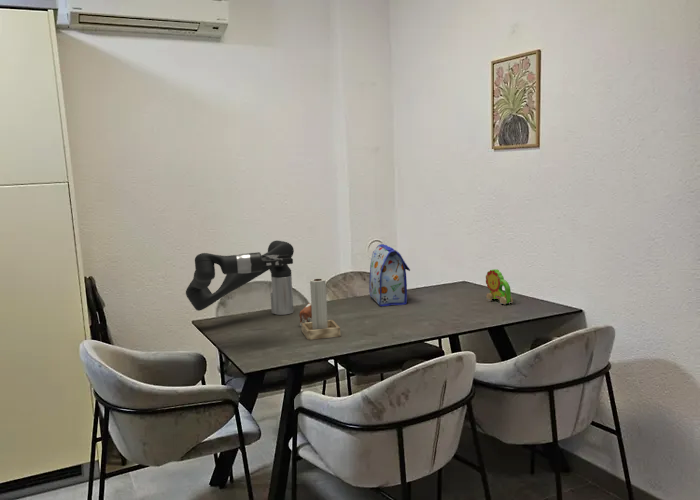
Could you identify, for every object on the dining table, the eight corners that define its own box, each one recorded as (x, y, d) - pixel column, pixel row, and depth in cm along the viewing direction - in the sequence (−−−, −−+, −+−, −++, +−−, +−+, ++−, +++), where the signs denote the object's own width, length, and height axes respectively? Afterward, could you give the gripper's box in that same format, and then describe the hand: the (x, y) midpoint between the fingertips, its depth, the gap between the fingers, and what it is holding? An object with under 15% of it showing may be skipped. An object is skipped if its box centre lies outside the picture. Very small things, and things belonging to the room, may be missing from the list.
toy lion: (513, 304, 283) (513, 271, 281) (504, 306, 281) (504, 273, 279) (492, 298, 298) (491, 267, 296) (482, 299, 296) (482, 268, 293)
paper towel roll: (321, 329, 252) (318, 277, 249) (331, 331, 247) (328, 279, 244) (307, 333, 247) (304, 280, 244) (317, 335, 242) (314, 282, 239)
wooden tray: (307, 340, 240) (307, 331, 240) (301, 331, 252) (301, 323, 252) (340, 336, 243) (340, 327, 243) (332, 328, 256) (332, 319, 255)
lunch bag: (413, 304, 292) (411, 248, 288) (379, 307, 288) (377, 250, 284) (398, 294, 314) (397, 242, 310) (367, 297, 310) (365, 244, 306)
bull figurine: (318, 319, 271) (317, 301, 269) (306, 327, 258) (305, 308, 257) (309, 319, 272) (308, 301, 271) (296, 327, 259) (295, 308, 258)
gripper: (248, 269, 244) (288, 265, 248) (251, 275, 231) (294, 271, 234) (246, 250, 243) (287, 247, 247) (249, 256, 229) (293, 252, 233)
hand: (290, 259), depth 241 cm, fingers open, 8 cm apart
